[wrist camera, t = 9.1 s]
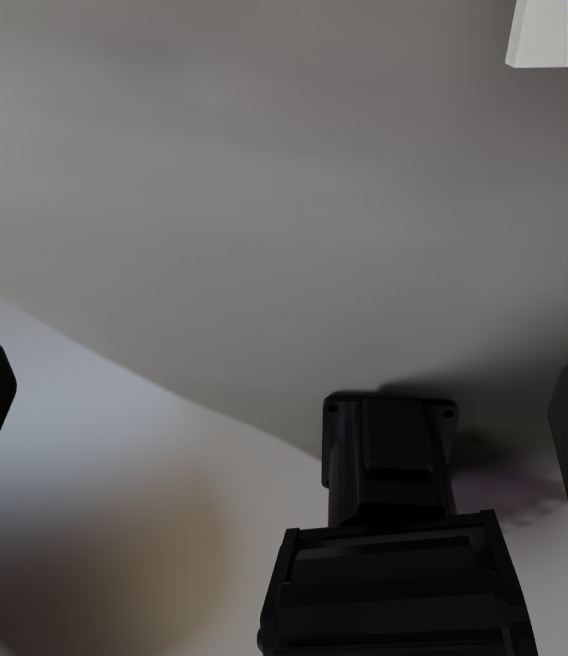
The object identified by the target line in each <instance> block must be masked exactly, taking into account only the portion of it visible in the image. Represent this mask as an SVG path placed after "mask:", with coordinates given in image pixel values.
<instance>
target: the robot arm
mask: <svg viewBox="0 0 568 656" xmlns="http://www.w3.org/2000/svg"><path fill="white" fill-rule="evenodd" d="M16 390H17V383H16V378H15V376H14V373H13V371H12V368H11V366H10V364H9V361H8V359H7V356H6V354H5V351H4V349H3V348H2V346H1V345H0V430H1V428H2V425H3V423H4V421H5V418H6V416H7V413H8V411H9V409H10V406H11V404H12V402H13V399H14V397H15V394H16ZM330 405H336V407H331V406H330ZM446 410H451V411H449V412H444V411H446ZM458 417H459V410H458V406H457V404H456V403H455V402H453V401H449V400H428V399H404V398H380V397H355V396H329V397H326V398H325V399H324V402H323V432H322V485H323V486H324V487H325V488H328V489H329V504H328V527H325V528H314V529H303V530H300V529H299V528H291V529H286V532H285V535H284V539H283V543H282V545H281V546H280V549H279V553H278V556H277V560H276V563H275V567H274V570H273V573H272V577H271V581H270V584H269V588H268V591H267V595H266V598H265V601H264V605H263V609H262V612H261V616H260V629H259V631H258V633H257V645H258V648H259V649H260V651H261V652H262V653H263V656H538V652H537V648H536V643H535V638H534V634H533V630H532V626H531V622H530V618H529V614H528V611H527V607H526V603H525V600H524V596H523V593H522V590H521V587H520V583H519V581H518V577H517V575H516V572H515V569H514V566H513V564H512V560H511V557H510V555H509V552H508V549H507V546H506V543H505V540H504V537H503V535H502V532H501V529H500V526H499V523H498V520H497V517H496V514H495V512H494V509H489V510H480V513H472V514H461V515H457V510H456V505H455V501H454V496H453V491H452V486H451V482H450V477H449V472H448V468H447V467H448V462H449V458H450V453H451V449H452V444H453V440H454V435H455V431H456V426H457V422H458ZM548 418H549V422H550V427H551V431H552V435H553V439H554V443H555V448H556V452H557V456H558V460H559V465H560V469H561V473H562V477H563V481H564V486H565V490H566V494H567V498H568V364H566V365H564V366H563V367H562V369H561V371H560V373H559V376H558V379H557V382H556V384H555V387H554V390H553V393H552V396H551V398H550V401H549V405H548Z"/></svg>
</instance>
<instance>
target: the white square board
mask: <svg viewBox="0 0 568 656" xmlns="http://www.w3.org/2000/svg"><path fill="white" fill-rule="evenodd" d="M505 63H506V64H508V65H510V66H512V67H513V68H536V67H568V0H517V2H516V7H515V12H514V18H513V23H512V28H511V33H510V39H509V44H508V49H507V55H506V60H505Z"/></svg>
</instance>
